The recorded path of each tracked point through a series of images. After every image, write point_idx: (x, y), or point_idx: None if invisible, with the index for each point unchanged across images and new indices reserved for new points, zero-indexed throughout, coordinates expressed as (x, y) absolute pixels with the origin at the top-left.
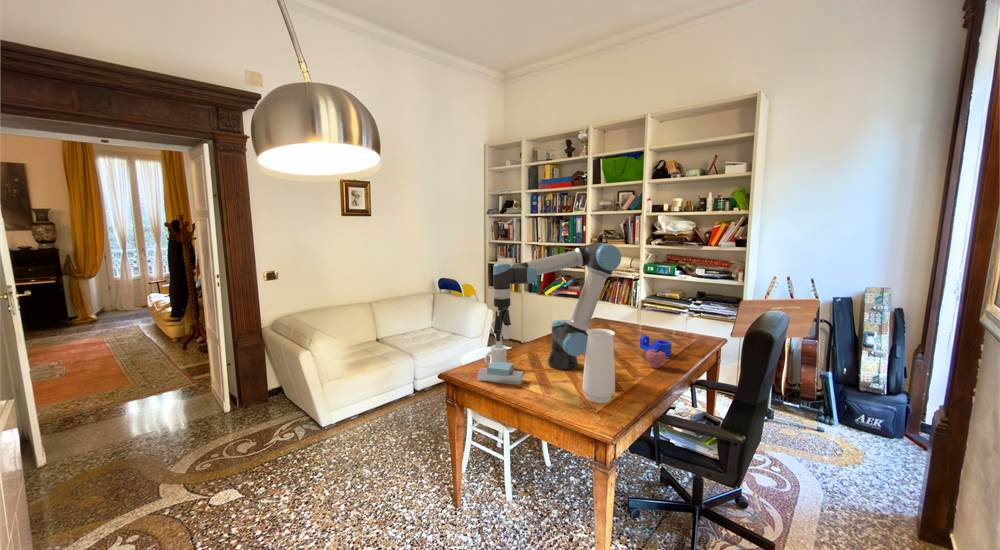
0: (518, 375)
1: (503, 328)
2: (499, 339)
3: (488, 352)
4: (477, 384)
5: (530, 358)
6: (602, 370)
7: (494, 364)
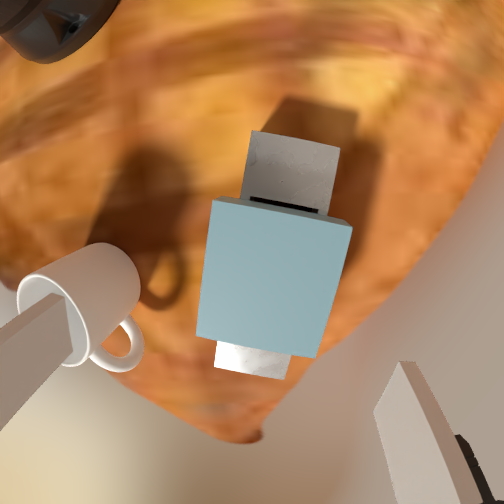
0: (323, 158)
1: (4, 423)
2: (468, 451)
3: (108, 366)
4: (328, 350)
5: (13, 148)
6: None
7: (254, 324)
